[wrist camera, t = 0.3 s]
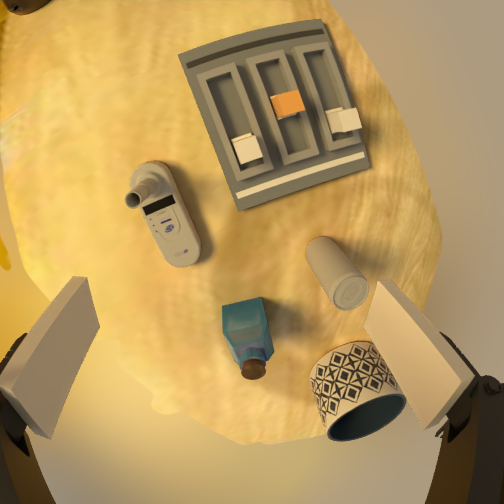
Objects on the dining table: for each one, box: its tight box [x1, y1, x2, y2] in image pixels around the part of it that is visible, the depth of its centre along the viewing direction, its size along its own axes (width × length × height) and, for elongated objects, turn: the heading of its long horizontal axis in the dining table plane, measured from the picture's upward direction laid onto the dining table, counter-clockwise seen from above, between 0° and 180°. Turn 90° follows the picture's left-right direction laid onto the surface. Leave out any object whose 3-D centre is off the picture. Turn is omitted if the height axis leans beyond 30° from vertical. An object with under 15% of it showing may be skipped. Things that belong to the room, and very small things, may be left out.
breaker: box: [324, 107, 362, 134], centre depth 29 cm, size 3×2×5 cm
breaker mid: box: [269, 90, 305, 120], centre depth 28 cm, size 3×2×5 cm
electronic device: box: [125, 161, 201, 268], centre depth 32 cm, size 5×10×15 cm
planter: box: [310, 342, 406, 441], centre depth 46 cm, size 16×16×14 cm
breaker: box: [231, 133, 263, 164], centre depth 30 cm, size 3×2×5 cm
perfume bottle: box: [222, 297, 274, 380], centre depth 39 cm, size 6×6×12 cm
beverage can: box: [305, 236, 369, 311], centre depth 35 cm, size 5×5×12 cm
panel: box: [178, 19, 370, 211], centre depth 30 cm, size 22×19×3 cm
